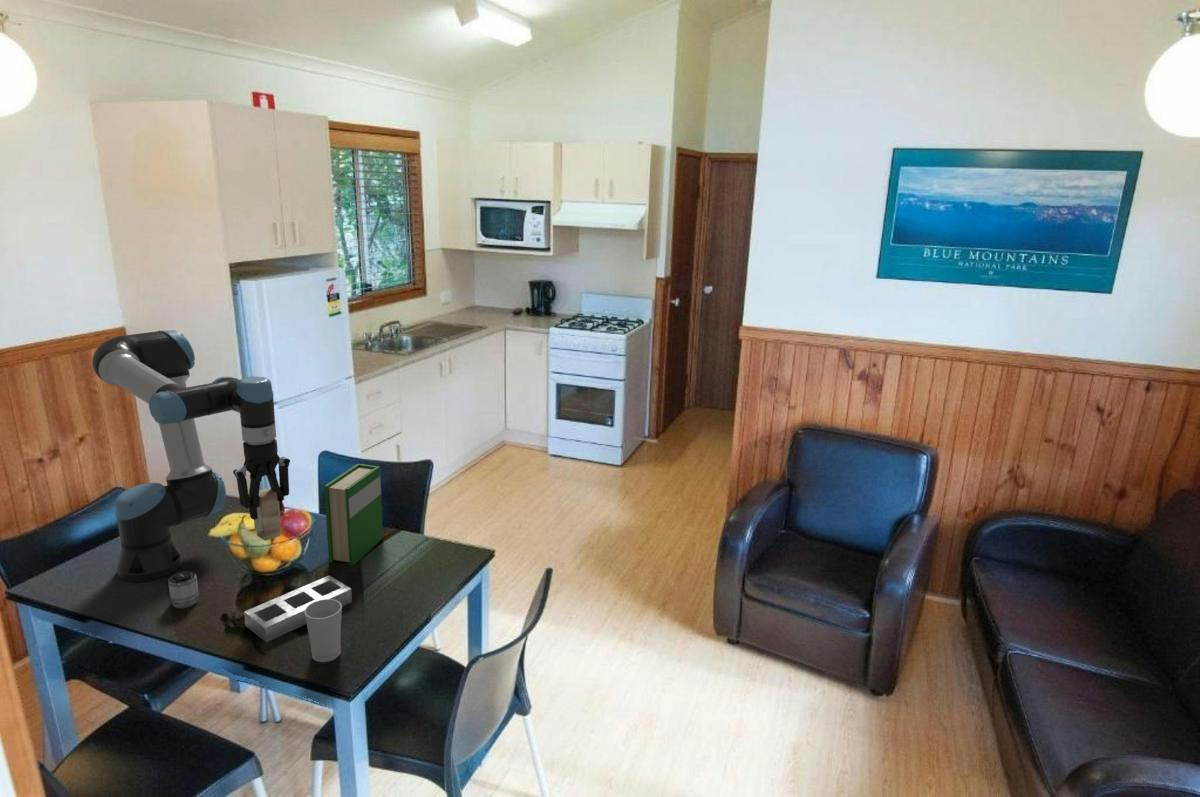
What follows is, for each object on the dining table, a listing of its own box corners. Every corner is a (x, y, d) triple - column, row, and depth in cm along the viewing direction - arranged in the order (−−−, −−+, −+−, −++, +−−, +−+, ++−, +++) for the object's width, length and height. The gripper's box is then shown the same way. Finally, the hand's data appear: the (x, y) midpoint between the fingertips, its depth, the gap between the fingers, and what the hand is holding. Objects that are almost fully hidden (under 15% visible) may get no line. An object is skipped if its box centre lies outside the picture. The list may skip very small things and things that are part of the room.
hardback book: (352, 566, 202) (348, 489, 195) (329, 562, 203) (324, 485, 196) (382, 538, 218) (379, 466, 211) (361, 534, 219) (357, 463, 213)
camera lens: (180, 612, 176) (176, 584, 174) (166, 603, 180) (162, 576, 177) (204, 600, 182) (201, 573, 179) (190, 592, 185) (187, 566, 182)
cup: (332, 638, 169) (330, 595, 166) (351, 653, 164) (348, 608, 161) (301, 653, 163) (297, 608, 160) (319, 669, 158) (316, 623, 155)
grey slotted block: (245, 625, 172) (243, 611, 171) (330, 588, 190) (329, 575, 189) (266, 642, 167) (264, 628, 165) (351, 602, 184) (351, 588, 183)
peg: (257, 535, 179) (252, 492, 176) (272, 530, 182) (268, 487, 179) (265, 540, 177) (261, 497, 173) (280, 535, 180) (276, 492, 177)
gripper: (232, 452, 164) (241, 542, 170) (300, 435, 177) (307, 519, 183) (216, 444, 168) (226, 533, 174) (284, 428, 181) (291, 511, 188)
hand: (267, 526), depth 179 cm, fingers closed on peg, 4 cm apart
